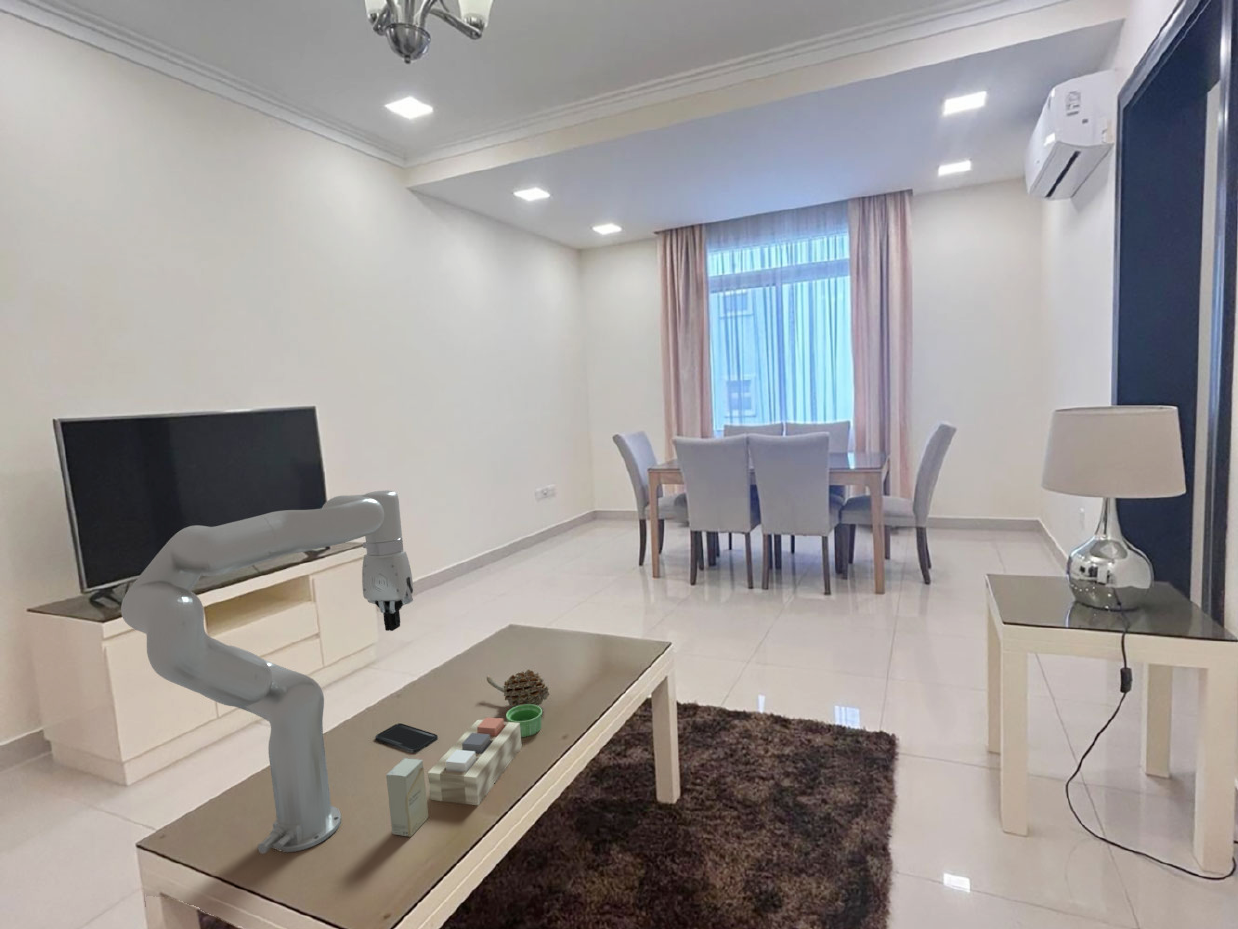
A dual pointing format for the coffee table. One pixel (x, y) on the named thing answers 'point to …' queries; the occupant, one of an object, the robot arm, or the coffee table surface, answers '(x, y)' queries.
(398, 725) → the phone
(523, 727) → the ramekin
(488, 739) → the grey rectangular block
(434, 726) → the coffee table surface
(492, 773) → the wooden compartment tray
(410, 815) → the skincare box
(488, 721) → the brick key
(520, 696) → the pine cone
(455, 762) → the white key
